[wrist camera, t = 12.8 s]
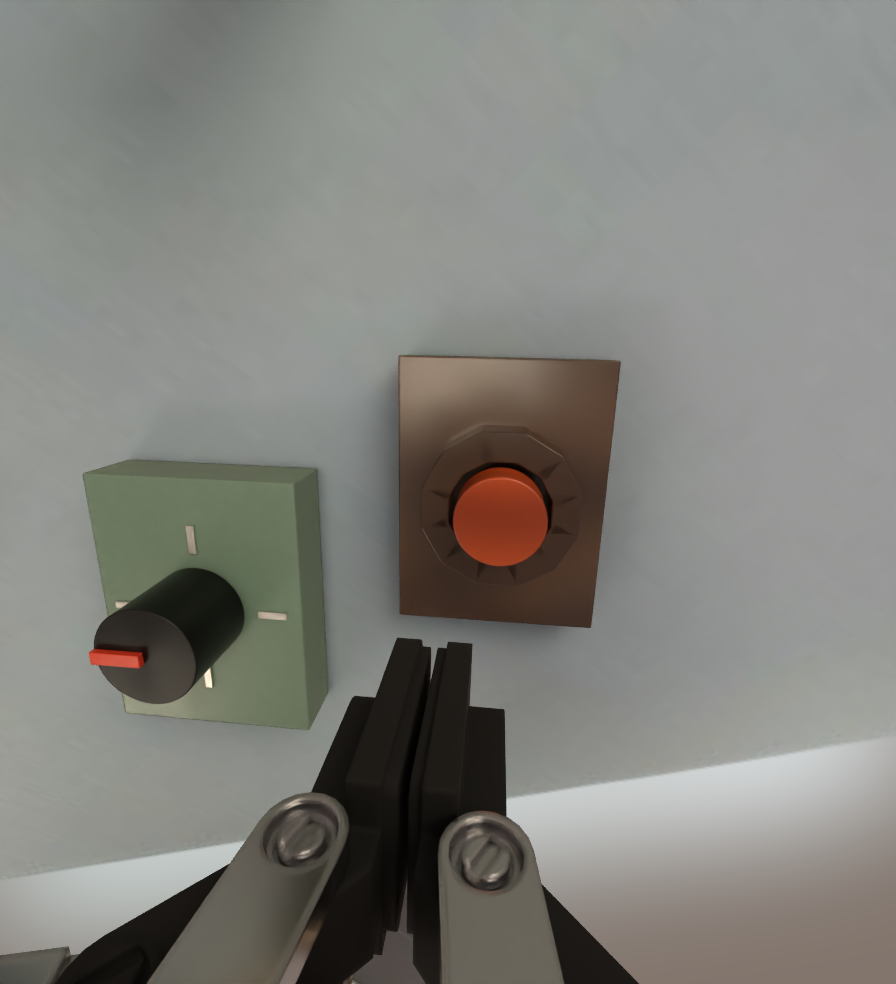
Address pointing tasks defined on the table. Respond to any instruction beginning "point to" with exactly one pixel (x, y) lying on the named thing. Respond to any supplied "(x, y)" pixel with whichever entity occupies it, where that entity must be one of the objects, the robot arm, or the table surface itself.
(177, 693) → the dial
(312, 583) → the dial panel
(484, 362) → the switch block
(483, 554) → the button
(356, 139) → the table surface
